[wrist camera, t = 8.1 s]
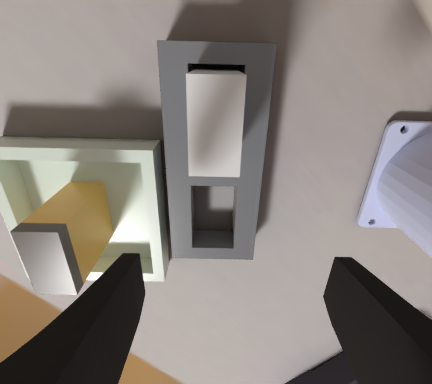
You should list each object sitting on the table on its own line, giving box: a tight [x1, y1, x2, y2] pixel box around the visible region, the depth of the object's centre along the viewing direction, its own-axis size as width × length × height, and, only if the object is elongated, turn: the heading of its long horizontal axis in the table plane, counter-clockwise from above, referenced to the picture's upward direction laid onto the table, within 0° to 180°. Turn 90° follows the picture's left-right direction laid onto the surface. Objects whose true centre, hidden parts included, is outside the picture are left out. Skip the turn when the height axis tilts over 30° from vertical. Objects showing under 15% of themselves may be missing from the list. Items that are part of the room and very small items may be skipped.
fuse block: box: [157, 40, 277, 260], centre depth 17 cm, size 6×14×2 cm, turn 179°
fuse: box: [186, 68, 247, 177], centre depth 14 cm, size 2×4×6 cm, turn 179°
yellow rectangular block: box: [10, 182, 114, 295], centre depth 17 cm, size 2×4×6 cm, turn 179°
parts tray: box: [0, 136, 169, 282], centre depth 19 cm, size 11×11×2 cm
